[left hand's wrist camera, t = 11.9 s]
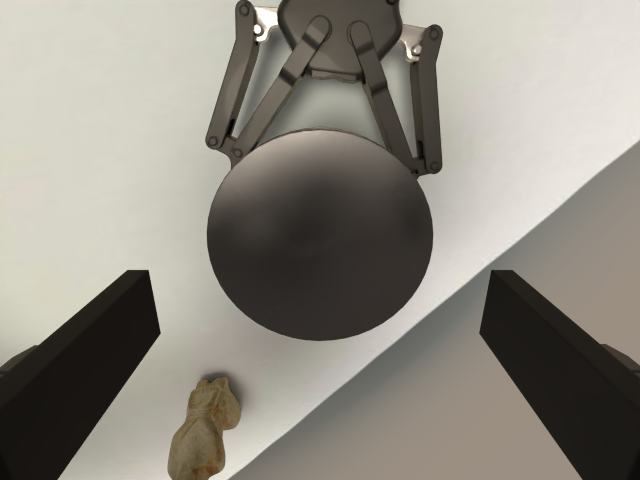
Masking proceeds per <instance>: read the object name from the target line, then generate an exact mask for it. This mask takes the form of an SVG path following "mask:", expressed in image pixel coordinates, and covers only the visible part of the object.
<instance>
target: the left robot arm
mask: <svg viewBox="0 0 640 480" xmlns="http://www.w3.org/2000/svg"><path fill="white" fill-rule="evenodd" d="M479 333H480V335H481V336H482V338H483V339H484V341H485V342H486V343H487V345H488V346H489V348H490V349H491V350H492V352H493V353H494V355H495V356H496V358H497V359H498V360H499V362H500V363H501V365H502V366H503V368H504V369H505V370H506V372H507V373H508V375H509V376H510V377H511V379H512V380H513V382H514V383H515V385H516V386H517V387H518V389H519V390H520V392H521V393H522V394H523V396H524V397H525V399H526V400H527V402H528V403H529V404H530V406H531V407H532V409H533V410H534V412H535V413H536V414H537V416H538V417H539V419H540V420H541V421H542V423H543V424H544V426H545V427H546V428H547V430H548V431H549V433H550V434H551V436H552V437H553V438H554V440H555V441H556V443H557V444H558V445H559V447H560V448H561V450H562V451H563V453H564V454H565V455H566V457H567V458H568V460H569V461H570V463H571V464H572V465H573V467H574V468H575V470H576V471H577V472H578V474H579V475H580V477H581V478H582V480H640V366H639V365H638V364H637V363H636V362H634V361H633V360H632V359H631V358H630V357H628V356H627V355H625V354H623V353H621V352H619V351H617V350H616V349H614V348H612V347H610V346H608V345H606V344H599V343H598V342H597V341H596V340H594V339H593V338H592V337H591V336H590V335H589V334H587V333H586V332H585V331H584V330H583V329H581V328H580V327H579V326H578V325H577V324H576V323H574V322H573V321H572V320H571V319H570V318H568V317H567V316H566V315H565V314H564V313H562V312H561V311H560V310H559V309H558V308H557V307H555V306H554V305H553V304H552V303H551V302H550V301H548V300H547V299H546V298H545V297H544V296H542V295H541V294H540V293H539V292H538V291H536V290H535V289H534V288H533V287H532V286H531V285H529V284H528V283H527V282H526V281H525V280H524V279H522V278H521V277H520V276H519V275H518V274H516V273H515V272H514V271H513V270H491V275H490V280H489V286H488V291H487V296H486V301H485V306H484V312H483V317H482V322H481V327H480V332H479ZM160 334H161V332H160V327H159V322H158V317H157V312H156V306H155V301H154V296H153V291H152V286H151V280H150V275H149V270H127V271H126V272H125V273H124V274H122V275H121V276H120V277H119V278H118V279H116V280H115V281H114V282H113V283H112V284H111V285H109V286H108V287H107V288H106V289H105V290H103V291H102V292H101V293H100V294H99V295H98V296H96V297H95V298H94V299H93V300H92V301H90V302H89V303H88V304H87V305H86V306H85V307H83V308H82V309H81V310H80V311H79V312H77V313H76V314H75V315H74V316H73V317H72V318H70V319H69V320H68V321H67V322H66V323H64V324H63V325H62V326H61V327H60V328H59V329H57V330H56V331H55V332H54V333H53V334H51V335H50V336H49V337H48V338H47V339H46V340H44V341H43V342H42V343H41V344H40V345H34V346H33V347H31V348H29V349H27V350H25V351H23V352H22V353H20V354H18V355H16V356H14V357H12V358H11V359H10V360H9V361H8V362H6V363H5V364H4V365H3V366H1V367H0V480H58V478H59V477H60V475H61V474H62V472H63V471H64V470H65V468H66V467H67V465H68V464H69V463H70V461H71V460H72V458H73V457H74V455H75V454H76V453H77V451H78V450H79V448H80V447H81V446H82V444H83V443H84V441H85V440H86V438H87V437H88V436H89V434H90V433H91V431H92V430H93V429H94V427H95V426H96V424H97V423H98V421H99V420H100V419H101V417H102V416H103V414H104V413H105V412H106V410H107V409H108V407H109V406H110V404H111V403H112V402H113V400H114V399H115V397H116V396H117V394H118V393H119V392H120V390H121V389H122V387H123V386H124V385H125V383H126V382H127V380H128V379H129V377H130V376H131V375H132V373H133V372H134V370H135V369H136V368H137V366H138V365H139V363H140V362H141V360H142V359H143V358H144V356H145V355H146V353H147V352H148V351H149V349H150V348H151V346H152V345H153V343H154V342H155V341H156V339H157V338H158V336H159V335H160Z"/></svg>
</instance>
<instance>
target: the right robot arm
mask: <svg viewBox="0 0 640 480" xmlns="http://www.w3.org/2000/svg"><path fill="white" fill-rule="evenodd" d="M235 20H236V40H235V44H234V47H233V50H232V54H231V57H230V60H229V63H228V67H227V70H226V73H225V76H224V80H223V83H222V86H221V89H220V93H219V96H218V99H217V102H216V106H215V109H214V112H213V116H212V119H211V122H210V125H209V129H208V132H207V135H206V140H205V142H206V145H207V146H208V147H209V148H211V149H214V150H215V149H216V150H218V151H220V152H222V153H224V154H226V155H227V156H228V157H229V158H230V161H231V169H232V168H233V167H234V166H235V165H236V164H237V163H238V162H239V161H240V160H241V159H242V158H243V157H244V156H245V155H247V154H248V153H250V152H251V151H252V150H254V149H255V147H256V146H257V144H258V143H259V141H260V140H261V138H262V137H263V135H264V134H265V132H266V131H267V129H268V128H269V127H270V125H271V124H272V122H273V121H274V119H275V118H276V116H277V115H278V113H279V112H280V110H281V109H282V107H283V106H284V104H285V103H286V101H287V100H288V98H289V97H290V95H291V94H292V92H293V91H294V89H295V88H296V87H297V86H298V84H299V83H300V81H301V80H302V79H303V77H304V76H305V74H307V75H308V76H310V77H312V79H320V80H324V79H330V78H334V79H337V80H339V81H341V82H345V83H355V82H359V81H361V84H362V87H363V89H364V92H365V94H366V95H367V97H368V100H369V103H370V105H371V108H372V111H373V113H374V116H375V118H376V121H377V124H378V126H379V129H380V132H381V134H382V137H383V140H384V142H385V145H386V147H387V150H388V151H389V152H390V153H392V154H393V155H394V156H396V157H397V158H398V159H399V160H400V161H401V162H402V163H403V164H404V165H405V166H406V167H407V168H408V169H409V171H410V172H411V173H412V175H413V176H414V177H415V178H416V180H417V179H418V177H419V176H422V175H426V174H430V173H431V174H436V173H438V172H439V171H440V170H441V169H442V152H441V137H440V122H439V107H438V92H437V77H436V61H437V57H438V53H439V49H440V45H441V41H442V37H443V31H442V28H441V27H440V26H439V25H436V24H435V25H431V26H429V27H428V28H422V27H417V26H411V25H406V24H403V23H402V19H401V16H400V11H399V0H282V2H281V3H280V5H279V7H278V8H276V7H262V6H253V5H252V4H251V3H250V2H249V1H248V0H240V1H239V2H238V3H237V5H236V8H235ZM278 27H280V29H281V31H282V33H283V35H284V37H285V39H286V41H287V43H288V44H289V46H290V48H291V50H292V53H291V55H290V56H289V58H288V59H287V61H286V63H285V64H284V66H283V67H282V69H281V71H280V73H279V75H278V77H277V78H276V80H275V81H274V83H273V84H272V86H271V88H270V89H269V91H268V92H267V94H266V95H265V97H264V98H263V100H262V101H261V103H260V104H259V106H258V108H257V109H256V111H255V112H254V114H253V115H252V117H251V118H250V120H249V121H248V123H247V124H246V126H245V128H244V129H243V131H242V132H241V134H240V135H239V137H238V138H235V137H233V136H231V135H232V132H233V129H234V126H235V123H236V120H237V117H238V114H239V111H240V108H241V105H242V102H243V99H244V96H245V93H246V90H247V87H248V84H249V81H250V78H251V75H252V72H253V69H254V66H255V63H256V60H257V56H258V52H259V46H260V44H263V43H266V42H267V41H268V39H269V36H270V33H271V31H272V30H273V29H274V28H278ZM396 43H399V44H401V45H402V47H403V50H404V58H405V59H406V61H408V62H411V64H410V82H411V93H412V104H413V115H414V126H415V137H416V148H417V157H415V158H413V157H412V155H411V152H410V149H409V146H408V143H407V141H406V138H405V135H404V132H403V129H402V127H401V124H400V121H399V118H398V115H397V113H396V110H395V107H394V104H393V101H392V99H391V96H390V93H389V90H388V86H387V81H386V78H385V75H384V72H383V69H382V66H381V63H380V61H381V60H382V59H383V58H384V57H385V55H386V54H387V53H388V52H389V51H390V50H391V48H392V47H393V46H394V45H395V44H396Z"/></svg>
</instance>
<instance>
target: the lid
mask: <svg viewBox="0 0 640 480" xmlns="http://www.w3.org/2000/svg"><path fill="white" fill-rule="evenodd" d="M432 246H433V225H432V218H431V213H430V209H429V205H428V202H427V200H426V197H425V195H424V192H423V190H422V189H421V187H420V185H419V183H418V182H417V180H416V178H415V177H414V176H413V175H412V173H411V172H410V171H409V169H408V168H407V167H406V166H405V165H404V164H403V163H402V162H401V161H400V160H399V159H398V158H397V157H396V156H394V155H393V154H392V153H390V152H389V151H388V150H386V149H385V148H383V147H382V146H380V145H379V144H377V143H375V142H373V141H371V140H369V139H368V138H366V137H363V136H361V135H358V134H355V133H352V132H349V131H344V130H339V129H333V128H306V129H301V130H296V131H291V132H288V133H285V134H282V135H279V136H276V137H274V138H273V139H271V140H269V141H267V142H265V143H263V144H261V145H260V146H258V147H257V148H255V149H254V150H252V151H251V152H250V153H248V154H247V155H245V156H244V157H243V158H242V159H241V160H240V161H239V162H238V163H237V164H236V165H235V166H234V167H233V168H232V169H231V171H230V172H229V173H228V174H227V176H226V177H225V178H224V180H223V182H222V183H221V185H220V187H219V189H218V190H217V192H216V195H215V197H214V200H213V202H212V205H211V209H210V213H209V217H208V226H207V247H208V252H209V257H210V262H211V265H212V268H213V271H214V273H215V275H216V277H217V280H218V282H219V284H220V285H221V287H222V289H223V290H224V292H225V293H226V295H227V296H228V297H229V298H230V300H231V301H232V302H233V303H234V304H235V305H236V307H238V308H239V309H240V310H241V311H242V312H243V313H244V314H245V315H246V316H248V317H249V318H251V319H252V320H253V321H255V322H256V323H258V324H260V325H262V326H263V327H265V328H267V329H269V330H271V331H274V332H276V333H279V334H281V335H285V336H288V337H292V338H297V339H303V340H313V341H327V340H337V339H344V338H348V337H352V336H355V335H359V334H361V333H364V332H366V331H369V330H371V329H373V328H375V327H377V326H378V325H380V324H382V323H384V322H385V321H387V320H388V319H389V318H391V317H392V316H394V315H395V314H396V313H397V312H398V311H399V310H400V309H401V308H403V306H404V305H405V304H406V303H407V302H408V301H409V300H410V299H411V297H412V296H413V294H414V293H415V292H416V290H417V289H418V287H419V285H420V283H421V282H422V280H423V278H424V276H425V273H426V270H427V268H428V265H429V262H430V257H431V252H432Z"/></svg>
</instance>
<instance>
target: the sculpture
mask: <svg viewBox="0 0 640 480" xmlns="http://www.w3.org/2000/svg"><path fill="white" fill-rule="evenodd" d="M228 384H229V381H228V379H227V378H226V377H223V378H216V379H215V380H214V381H213V382H212V383H211V382H210V381H209V380H202V381H199V382H198V384H197V387H196V389H195V390H193V391H192V392H191V394H190V398H189V401H188V406H187V415H186V420H185V423H184V424H183V425H182V426H181V427H180V428H179V430H178V431H177V432H176V433H175V435H174V436H173V439H172V443H171V448H170V453H169V460H168V473H169V476H170V477H171V479H172V480H208V479H209V478H210V477H211V476H213V475H215V474H217V473H219V472H220V471H222V470H223V468H224V466H225V450H224V445H223V439H222V435H223V430H230V429H233V428H235V427H236V426H237V424H238V423H239V420H240V416H241V411H240V407H239V404H238V402H237V400H236V398H235V397H234V395H233V394H232V393H231V391H230V389H229V386H228Z"/></svg>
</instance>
